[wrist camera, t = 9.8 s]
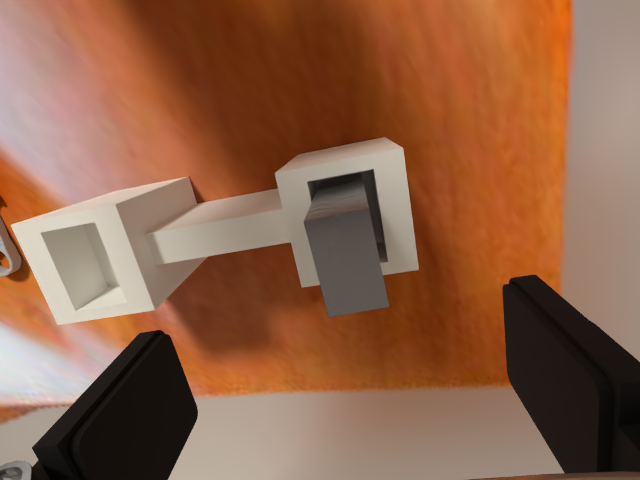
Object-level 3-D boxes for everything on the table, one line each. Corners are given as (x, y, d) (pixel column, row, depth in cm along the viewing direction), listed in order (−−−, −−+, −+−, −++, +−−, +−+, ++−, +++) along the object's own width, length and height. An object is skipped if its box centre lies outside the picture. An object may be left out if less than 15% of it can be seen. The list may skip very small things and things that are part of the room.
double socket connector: (114, 191, 37) (10, 225, 26) (384, 136, 34) (403, 147, 22) (141, 264, 40) (57, 324, 28) (396, 221, 36) (419, 269, 25)
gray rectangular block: (320, 181, 27) (303, 221, 17) (361, 171, 27) (368, 207, 16) (335, 244, 29) (328, 317, 18) (374, 236, 28) (389, 306, 18)
